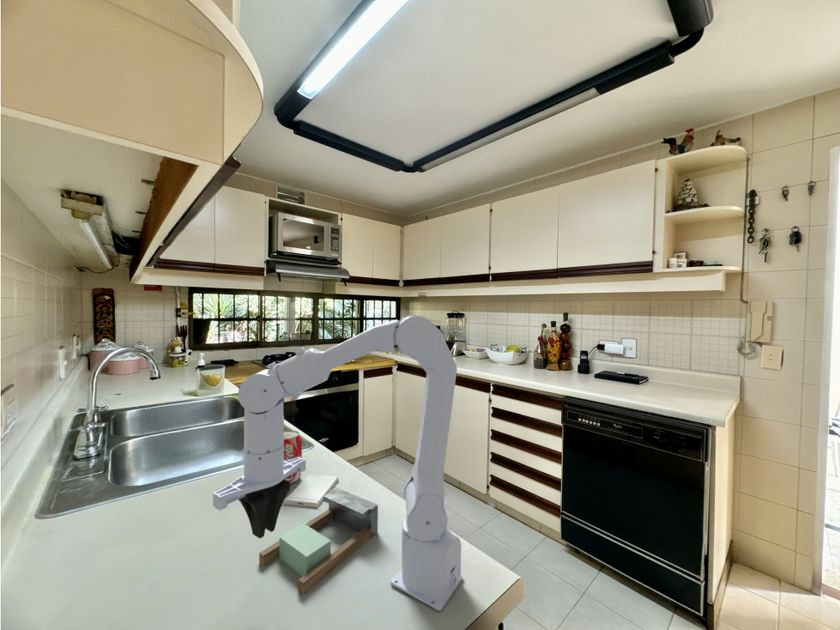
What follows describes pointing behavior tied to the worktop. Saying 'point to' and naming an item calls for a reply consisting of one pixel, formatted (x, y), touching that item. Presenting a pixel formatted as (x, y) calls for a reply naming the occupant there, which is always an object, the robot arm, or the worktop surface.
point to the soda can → (292, 451)
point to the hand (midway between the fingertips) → (263, 531)
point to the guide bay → (345, 511)
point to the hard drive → (311, 491)
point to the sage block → (303, 548)
